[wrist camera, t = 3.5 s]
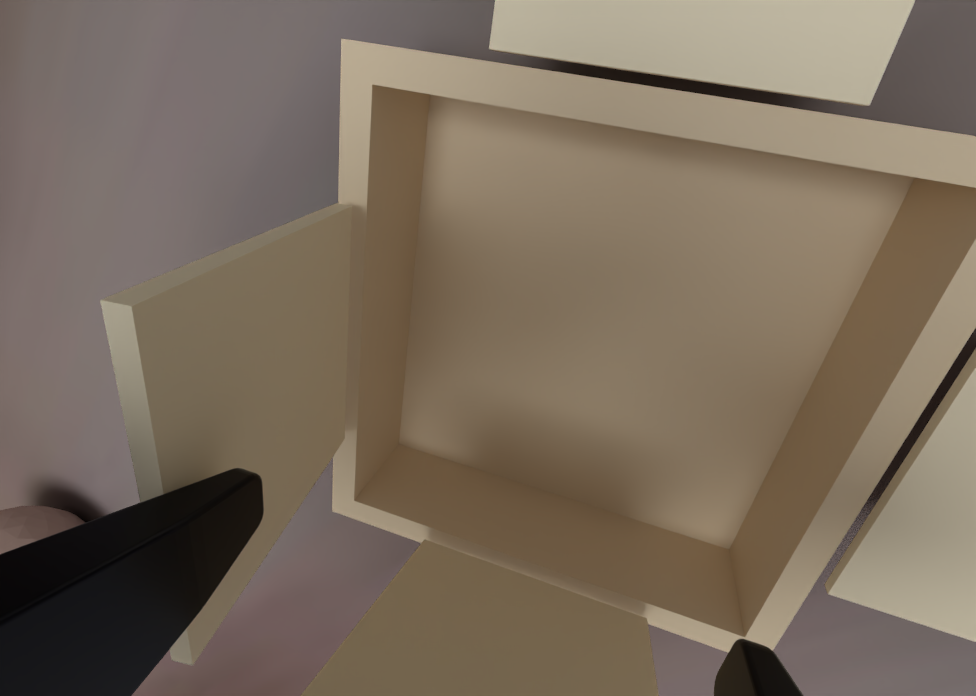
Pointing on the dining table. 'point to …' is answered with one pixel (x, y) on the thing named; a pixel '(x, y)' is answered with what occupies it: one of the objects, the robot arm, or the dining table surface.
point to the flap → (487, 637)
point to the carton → (663, 314)
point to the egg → (32, 525)
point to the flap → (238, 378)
